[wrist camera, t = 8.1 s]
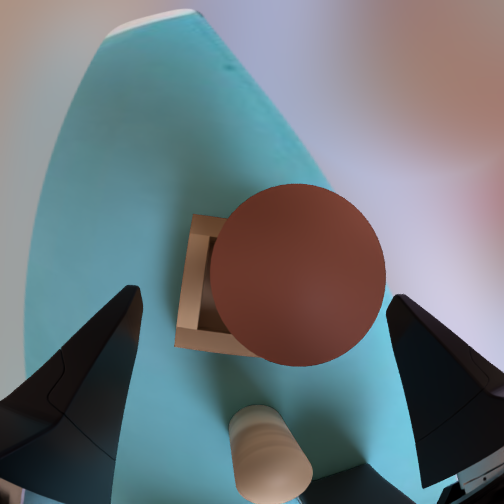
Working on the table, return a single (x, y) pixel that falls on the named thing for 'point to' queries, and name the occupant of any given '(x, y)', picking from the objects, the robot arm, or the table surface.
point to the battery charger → (353, 489)
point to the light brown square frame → (203, 295)
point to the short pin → (266, 457)
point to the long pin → (297, 275)
